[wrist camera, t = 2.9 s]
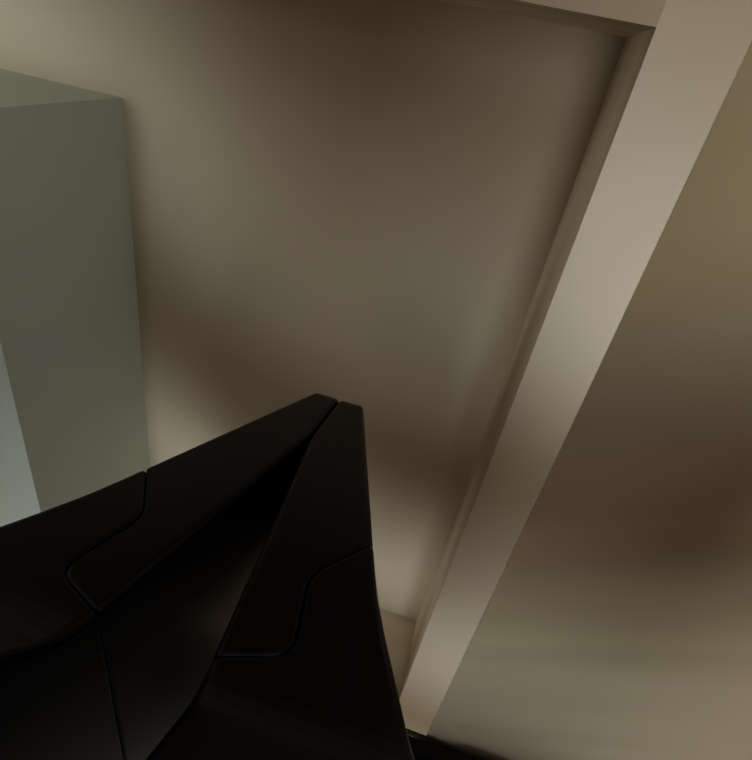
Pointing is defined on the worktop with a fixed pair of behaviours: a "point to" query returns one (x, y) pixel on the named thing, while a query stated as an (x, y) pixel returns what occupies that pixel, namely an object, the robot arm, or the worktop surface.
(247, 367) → the shallow beige tray
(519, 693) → the worktop surface
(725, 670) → the worktop surface
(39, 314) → the pale green block
